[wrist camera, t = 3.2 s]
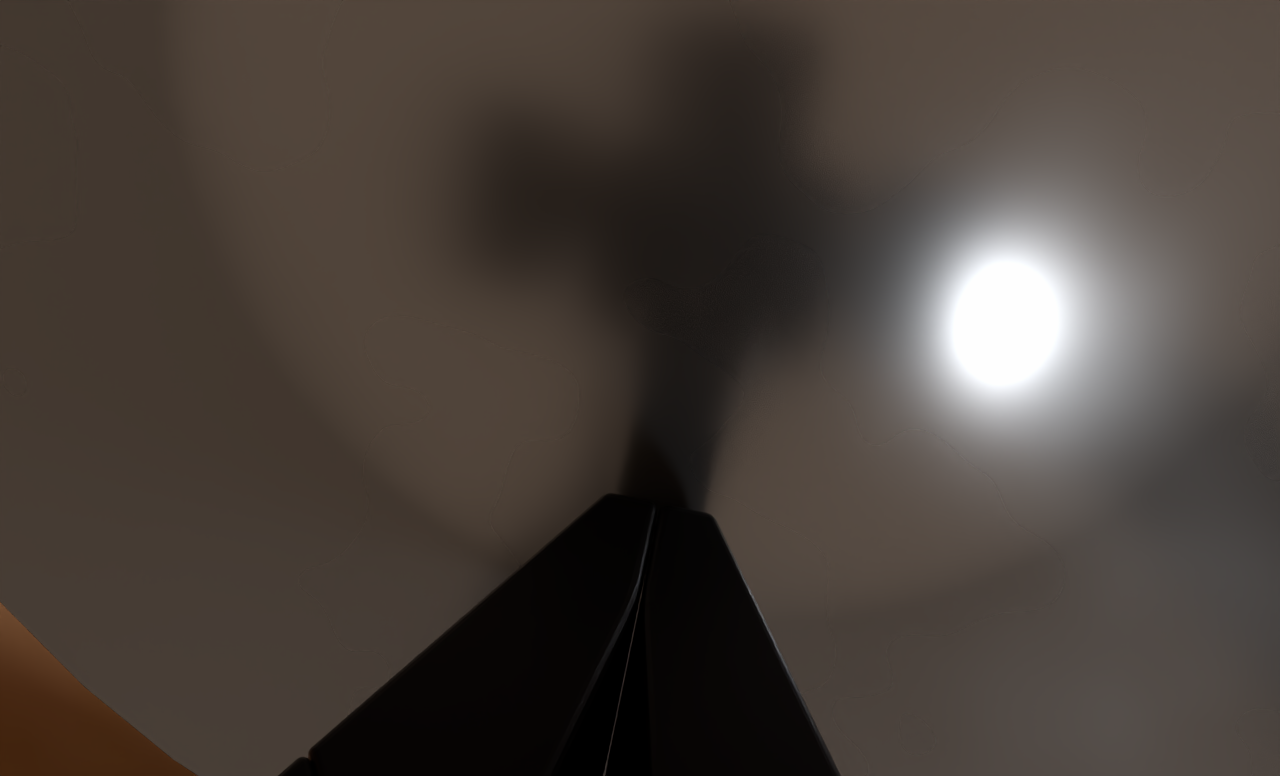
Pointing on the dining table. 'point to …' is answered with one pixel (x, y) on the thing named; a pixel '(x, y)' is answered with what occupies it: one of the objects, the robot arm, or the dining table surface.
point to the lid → (655, 352)
